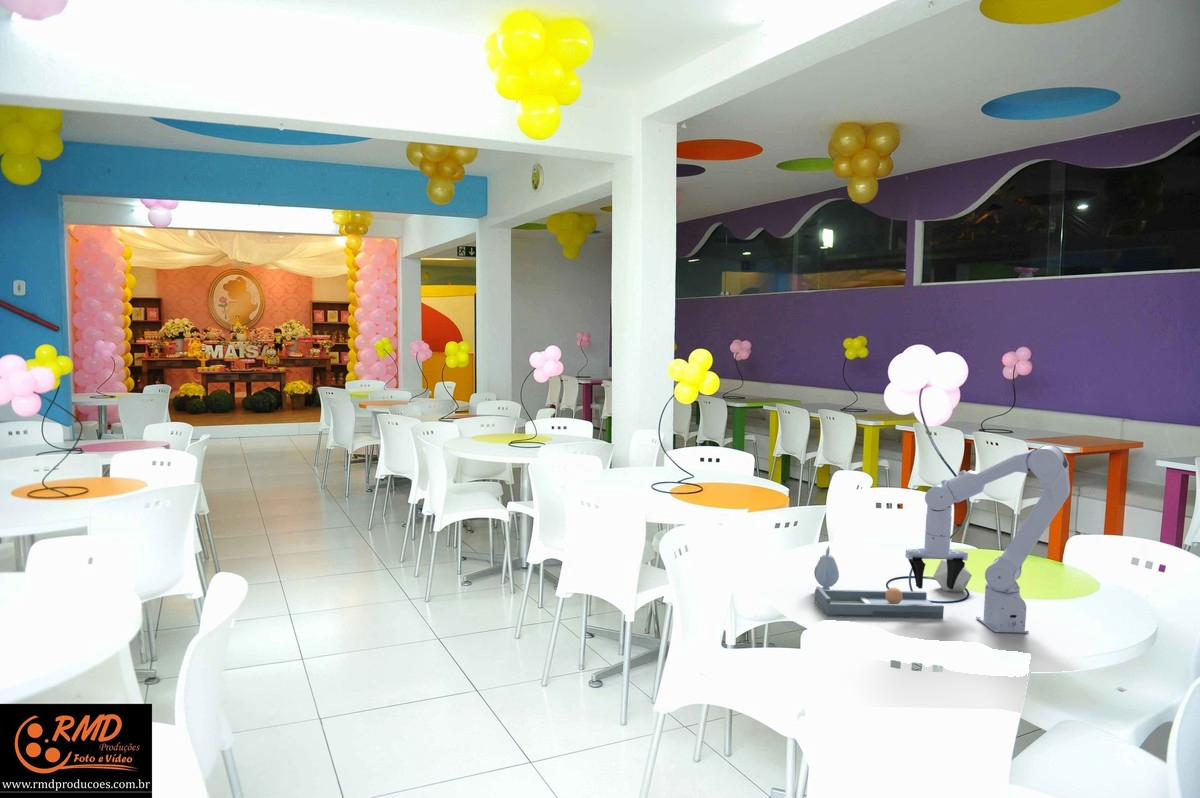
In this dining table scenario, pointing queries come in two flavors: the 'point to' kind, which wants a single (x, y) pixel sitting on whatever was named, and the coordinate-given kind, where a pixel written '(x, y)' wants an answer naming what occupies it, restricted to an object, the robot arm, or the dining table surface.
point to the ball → (893, 596)
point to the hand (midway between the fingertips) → (934, 587)
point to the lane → (875, 604)
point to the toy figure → (826, 571)
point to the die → (960, 581)
